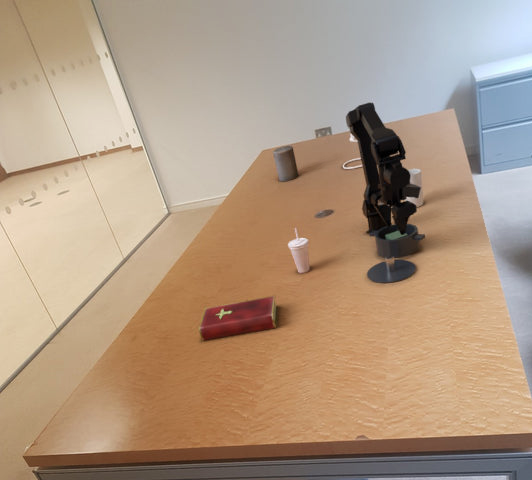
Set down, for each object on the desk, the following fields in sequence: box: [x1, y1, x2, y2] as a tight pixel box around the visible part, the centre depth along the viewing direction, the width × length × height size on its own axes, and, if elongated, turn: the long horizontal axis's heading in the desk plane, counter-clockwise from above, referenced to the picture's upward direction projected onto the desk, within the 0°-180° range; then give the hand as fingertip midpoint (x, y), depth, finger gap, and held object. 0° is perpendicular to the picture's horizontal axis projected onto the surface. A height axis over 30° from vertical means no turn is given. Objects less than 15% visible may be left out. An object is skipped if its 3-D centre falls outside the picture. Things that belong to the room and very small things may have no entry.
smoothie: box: [287, 227, 311, 274], centre depth 175 cm, size 6×6×14 cm
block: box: [385, 231, 408, 240], centre depth 173 cm, size 5×5×5 cm
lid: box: [366, 255, 417, 284], centre depth 161 cm, size 14×14×5 cm
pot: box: [368, 222, 426, 259], centre depth 172 cm, size 13×18×6 cm
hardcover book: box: [198, 294, 279, 341], centre depth 158 cm, size 12×21×4 cm, turn 87°
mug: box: [404, 168, 424, 208], centre depth 201 cm, size 10×7×12 cm, turn 161°
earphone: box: [342, 133, 363, 170], centre depth 260 cm, size 14×17×18 cm
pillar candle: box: [272, 145, 300, 182], centre depth 266 cm, size 10×10×15 cm
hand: (395, 230), depth 170 cm, fingers open, 9 cm apart
